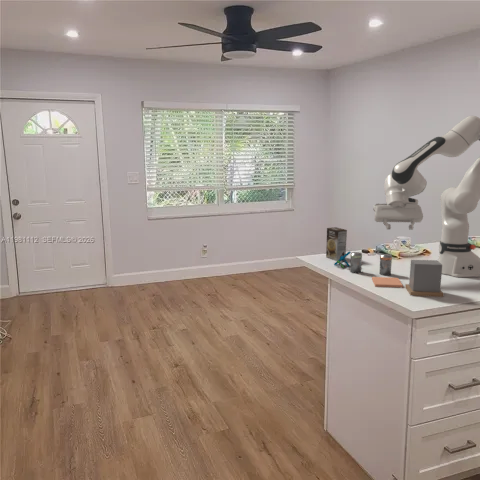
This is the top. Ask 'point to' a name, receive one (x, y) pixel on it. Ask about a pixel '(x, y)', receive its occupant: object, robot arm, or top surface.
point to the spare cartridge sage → (356, 262)
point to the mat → (386, 282)
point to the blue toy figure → (343, 260)
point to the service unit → (425, 278)
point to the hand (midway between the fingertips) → (399, 228)
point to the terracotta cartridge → (385, 264)
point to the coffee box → (336, 243)
